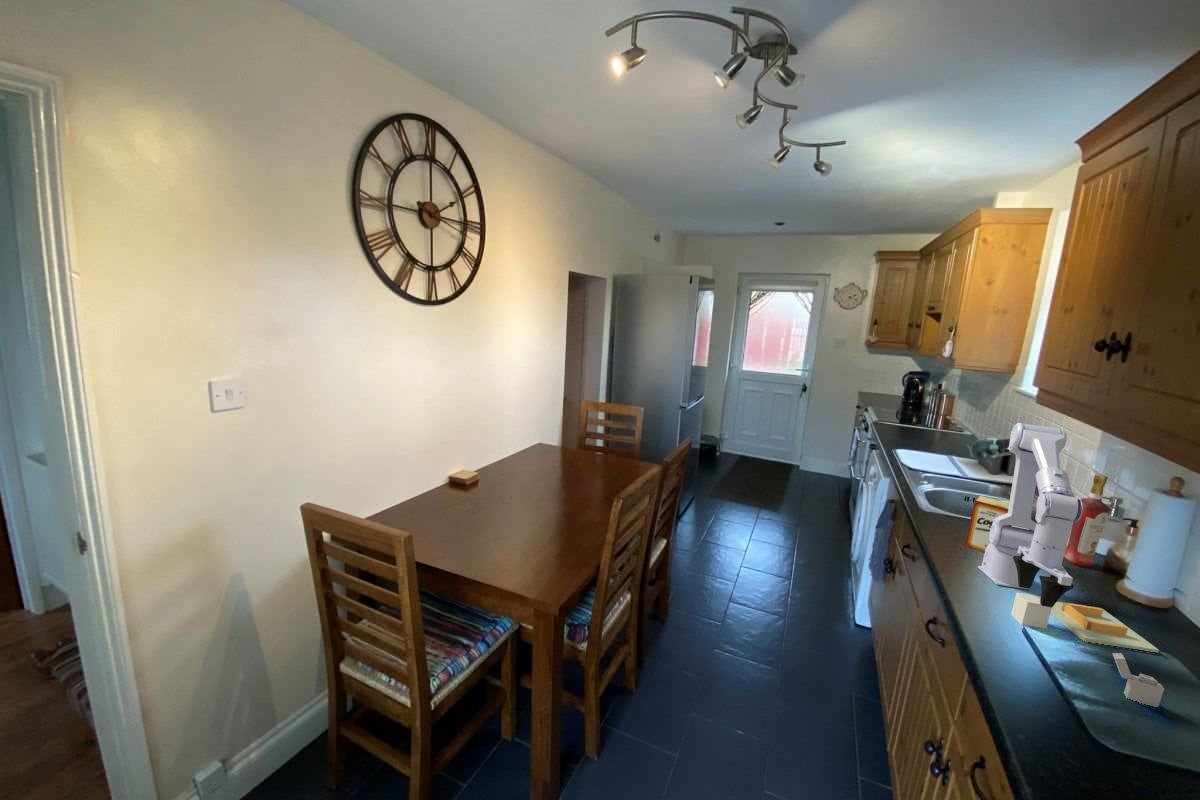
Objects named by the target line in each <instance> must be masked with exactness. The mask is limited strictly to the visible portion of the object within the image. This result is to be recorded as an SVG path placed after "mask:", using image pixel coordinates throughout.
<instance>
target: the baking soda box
mask: <svg viewBox="0 0 1200 800" xmlns="http://www.w3.org/2000/svg"><path fill="white" fill-rule="evenodd" d="M1008 508H1009V502H1005V501H1002V500H999V499H993V498H991V497H990V498H989V497H986V496H983V495H977V497H976V498H975V499H974V503H973V507H972V511H971V516H970V521H969V525H968V528H967V533H966V538H965V542H964V546H965V545H966V546H969V547H971V548H970V549H972V548H974V549H973V550H975V549H978V550H980V551H979V552H981V551H983V552H982V553H984V552H985V549H986V547H987V546H988V545H989V544H990V543H991V542H990V539H989V533H990V529H991V526H992V524H993V520H994V518H996V517H998V516H1001V515H1004V514H1006V513H1008ZM1006 526H1011V527H1014V526H1013V525H1006ZM966 546H965V547H966ZM969 547H968V548H969ZM978 550H977V551H978Z"/></svg>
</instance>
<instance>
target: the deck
mask: <svg viewBox="0 0 1200 800" xmlns="http://www.w3.org/2000/svg"><path fill="white" fill-rule="evenodd" d="M1050 615H1052V616H1053V617H1054V618H1055V619H1056V620H1057V621H1059V622H1060V623H1061V624H1062V625H1063V626H1064V627H1066V628H1067V629H1068V630H1070V632H1072V633H1073V634H1074V635H1075V636H1076V637H1078V638H1079V639H1080V640H1081V639H1082V640H1083V641H1085V642H1084V643H1088V642H1091V643H1090V644H1095V643H1098V644H1097V645H1101V644H1104V645H1103V646H1107V645H1113V646H1120V647H1126V648H1133V649H1140V650H1145V651H1151V652H1158V653H1159V652H1160V649H1158V648H1157V647H1156V646H1154V644H1152V643H1150V642H1149V641H1148V640H1146V639H1145V638H1144V637H1142V636H1141V635H1139V634H1138V633H1137V632H1135V631H1134V630H1132V628H1130V627H1128V626H1127V625H1125V623H1123V622H1121V621H1120V620H1119V619H1118V618H1116V617H1114V616H1113V615H1112V614H1111V613H1109V612H1107V610H1105V609H1104V608H1101V607H1097V606H1091V605H1090V606H1088V605H1083V604H1076V603H1070V602H1062V601H1061V602H1060V601H1057V602H1056V603H1055V605H1054V606H1053V607H1052V610H1051V613H1050ZM1082 640H1081V641H1082ZM1113 646H1112V647H1113Z"/></svg>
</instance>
